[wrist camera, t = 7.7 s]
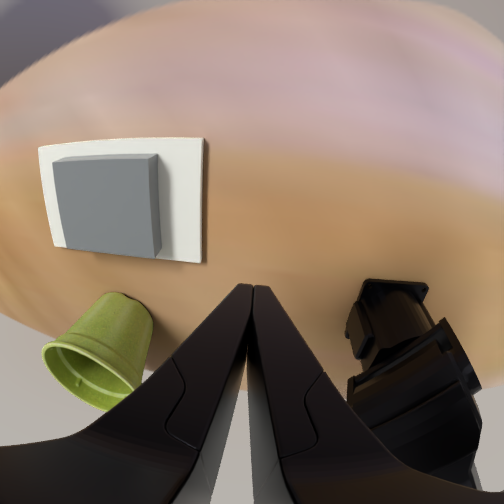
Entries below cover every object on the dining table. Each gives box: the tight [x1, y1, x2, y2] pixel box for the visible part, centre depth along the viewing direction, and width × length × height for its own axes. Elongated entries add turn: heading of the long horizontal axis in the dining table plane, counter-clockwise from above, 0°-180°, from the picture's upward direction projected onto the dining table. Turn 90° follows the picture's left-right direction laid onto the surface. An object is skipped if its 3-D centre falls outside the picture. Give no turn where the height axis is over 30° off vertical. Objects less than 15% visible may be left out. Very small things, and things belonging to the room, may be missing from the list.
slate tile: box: [52, 154, 162, 259], centre depth 18 cm, size 2×7×8 cm
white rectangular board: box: [38, 137, 204, 263], centre depth 19 cm, size 14×9×1 cm, turn 85°
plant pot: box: [42, 292, 153, 412], centre depth 22 cm, size 9×9×9 cm
